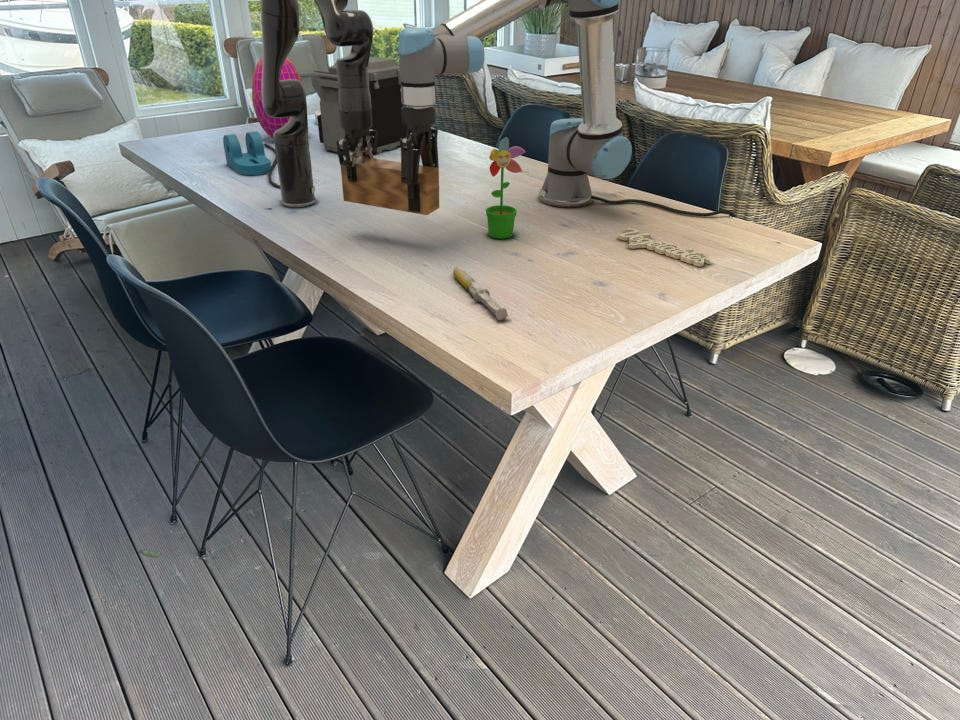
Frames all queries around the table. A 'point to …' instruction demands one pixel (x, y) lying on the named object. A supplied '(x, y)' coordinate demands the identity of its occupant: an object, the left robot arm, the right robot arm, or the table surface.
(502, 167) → the potted flower
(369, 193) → the box
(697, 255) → the decorative sign
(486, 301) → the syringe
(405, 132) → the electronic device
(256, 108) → the decorative egg
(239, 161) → the camera mount
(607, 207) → the table surface
